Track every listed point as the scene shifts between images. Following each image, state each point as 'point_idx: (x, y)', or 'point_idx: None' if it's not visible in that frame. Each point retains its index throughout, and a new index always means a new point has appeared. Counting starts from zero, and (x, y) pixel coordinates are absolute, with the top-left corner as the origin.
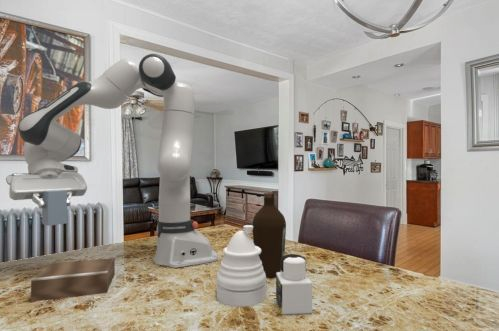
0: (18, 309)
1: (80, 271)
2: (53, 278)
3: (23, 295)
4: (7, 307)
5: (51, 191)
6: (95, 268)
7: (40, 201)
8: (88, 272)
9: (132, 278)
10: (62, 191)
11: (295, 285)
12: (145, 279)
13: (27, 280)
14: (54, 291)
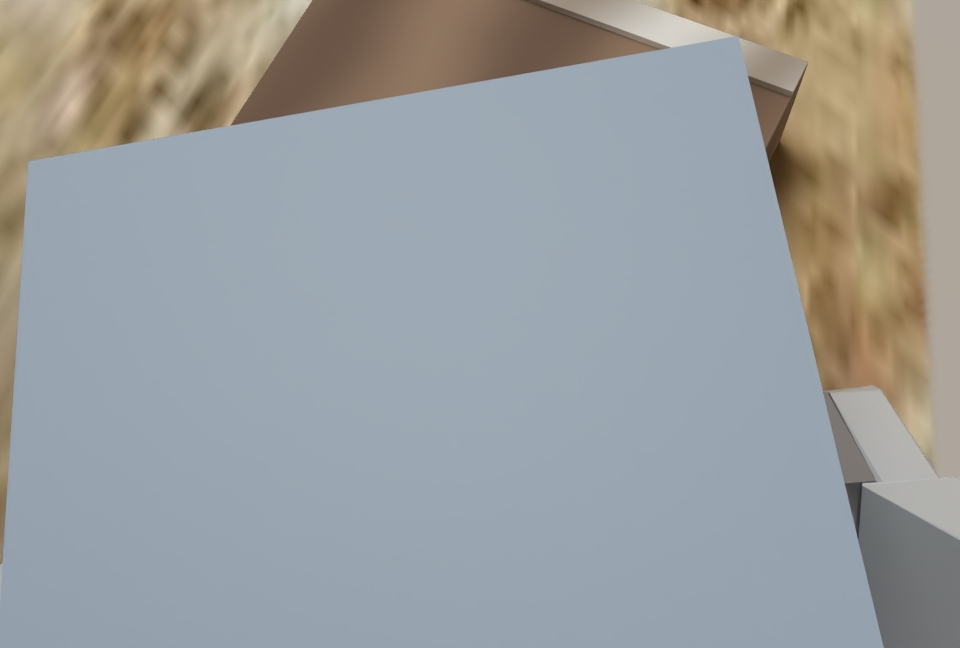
0: (846, 74)
1: (486, 57)
2: (671, 17)
3: (814, 283)
4: (903, 142)
5: (603, 145)
6: (385, 54)
7: (894, 449)
8: (451, 4)
9: (191, 113)
10: (210, 147)
11: None
12: (150, 46)
13: None
14: None
